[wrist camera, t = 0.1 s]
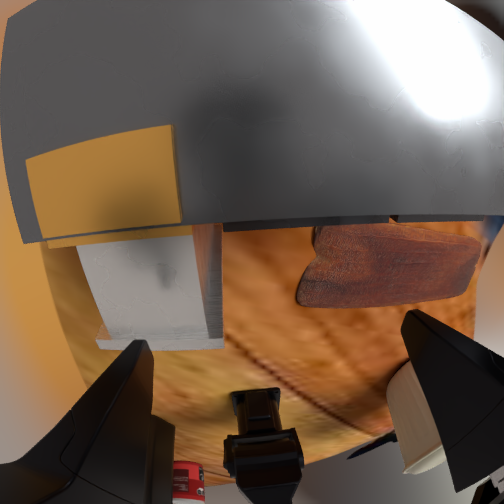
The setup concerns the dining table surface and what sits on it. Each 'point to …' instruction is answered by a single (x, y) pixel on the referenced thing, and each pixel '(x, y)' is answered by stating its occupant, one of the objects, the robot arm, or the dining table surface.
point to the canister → (413, 422)
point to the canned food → (188, 483)
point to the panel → (159, 290)
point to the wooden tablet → (386, 266)
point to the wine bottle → (159, 463)
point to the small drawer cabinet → (247, 116)
